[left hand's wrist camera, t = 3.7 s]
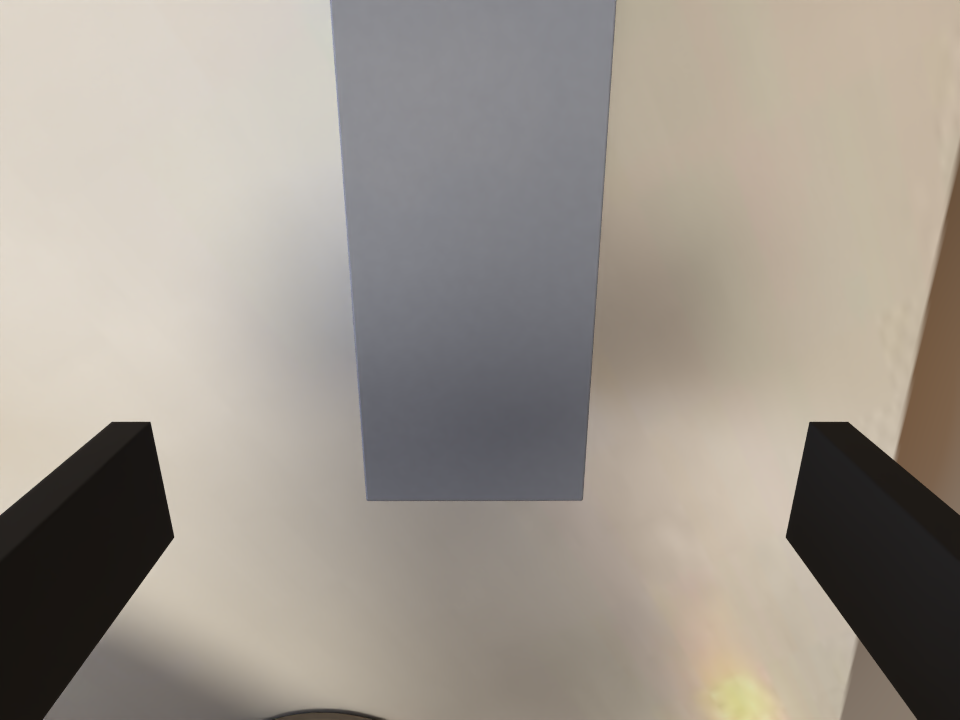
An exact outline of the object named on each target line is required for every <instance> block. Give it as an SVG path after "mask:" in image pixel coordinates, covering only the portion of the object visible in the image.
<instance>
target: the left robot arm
mask: <svg viewBox="0 0 960 720" xmlns="http://www.w3.org/2000/svg"><path fill="white" fill-rule="evenodd" d="M173 538H174V533H173V529H172V524H171V519H170V514H169V509H168V504H167V500H166V495H165V490H164V485H163V480H162V475H161V471H160V466H159V461H158V456H157V451H156V446H155V442H154V437H153V432H152V427H151V422H111V423H110V424H109V425H108V426H107V427H105V428H104V429H103V430H102V431H101V432H99V433H98V434H97V435H96V436H95V437H93V438H92V439H91V440H90V441H89V442H87V443H86V444H85V445H84V446H83V447H81V448H80V449H79V450H78V451H77V452H75V453H74V454H73V455H72V456H71V457H69V458H68V459H67V460H66V461H65V462H63V463H62V464H61V465H60V466H59V467H57V468H56V469H55V470H54V471H53V472H52V473H50V474H49V475H48V476H47V477H46V478H44V479H43V480H42V481H41V482H40V483H38V484H37V485H36V486H35V487H34V488H32V489H31V490H30V491H29V492H28V493H26V494H25V495H24V496H23V497H22V498H20V499H19V500H18V501H17V502H16V503H14V504H13V505H12V506H11V507H10V508H8V509H7V510H6V511H5V512H4V513H2V514H1V515H0V720H43V718H44V717H45V716H46V714H47V713H48V711H49V710H50V709H51V707H52V706H53V704H54V703H55V702H56V700H57V699H58V698H59V696H60V695H61V693H62V692H63V691H64V689H65V688H66V686H67V685H68V684H69V682H70V681H71V680H72V678H73V677H74V675H75V674H76V673H77V671H78V670H79V668H80V667H81V666H82V664H83V663H84V662H85V660H86V659H87V657H88V656H89V655H90V653H91V652H92V650H93V649H94V648H95V646H96V645H97V644H98V642H99V641H100V639H101V638H102V637H103V635H104V634H105V633H106V631H107V630H108V628H109V627H110V626H111V624H112V623H113V621H114V620H115V619H116V617H117V616H118V615H119V613H120V612H121V610H122V609H123V608H124V606H125V605H126V603H127V602H128V601H129V599H130V598H131V597H132V595H133V594H134V592H135V591H136V590H137V588H138V587H139V585H140V584H141V583H142V581H143V580H144V579H145V577H146V576H147V574H148V573H149V572H150V570H151V569H152V567H153V566H154V565H155V563H156V562H157V561H158V559H159V558H160V556H161V555H162V554H163V552H164V551H165V549H166V548H167V547H168V545H169V544H170V543H171V541H172V540H173ZM786 538H787V540H788V541H789V543H790V544H791V545H792V547H793V548H794V549H795V551H796V552H797V554H798V555H799V556H800V558H801V559H802V561H803V562H804V563H805V565H806V566H807V567H808V569H809V570H810V572H811V573H812V574H813V576H814V577H815V579H816V580H817V581H818V583H819V584H820V585H821V587H822V588H823V590H824V591H825V592H826V594H827V595H828V597H829V598H830V599H831V601H832V602H833V603H834V605H835V606H836V608H837V609H838V610H839V612H840V613H841V615H842V616H843V617H844V619H845V620H846V621H847V623H848V624H849V626H850V627H851V628H852V630H853V631H854V633H855V634H856V635H857V637H858V638H859V639H860V641H861V642H862V644H863V645H864V646H865V648H866V649H867V650H868V652H869V653H870V655H871V656H872V657H873V659H874V660H875V661H876V663H877V664H878V666H879V667H880V668H881V670H882V671H883V673H884V674H885V675H886V677H887V678H888V680H889V681H890V682H891V684H892V685H893V686H894V688H895V689H896V691H897V692H898V693H899V695H900V696H901V697H902V699H903V700H904V702H905V703H906V704H907V706H908V707H909V709H910V710H911V711H912V713H913V714H914V716H915V717H916V718H917V720H960V515H959V514H958V513H956V512H955V511H954V510H953V509H952V508H950V507H949V506H948V505H947V504H946V503H944V502H943V501H942V500H941V499H940V498H938V497H937V496H936V495H935V494H934V493H932V492H931V491H930V490H929V489H928V488H926V487H925V486H924V485H923V484H922V483H920V482H919V481H918V480H917V479H916V478H914V477H913V476H912V475H911V474H910V473H908V472H907V471H906V470H905V469H904V468H902V467H901V466H900V465H899V464H898V463H897V462H895V461H894V460H893V459H892V458H891V457H889V456H888V455H887V454H886V453H885V452H883V451H882V450H881V449H880V448H879V447H877V446H876V445H875V444H874V443H873V442H871V441H870V440H869V439H868V438H867V437H865V436H864V435H863V434H862V433H861V432H859V431H858V430H857V429H856V428H855V427H853V426H852V425H851V424H850V423H849V422H809V427H808V432H807V437H806V442H805V446H804V451H803V456H802V461H801V466H800V471H799V475H798V480H797V485H796V490H795V495H794V500H793V504H792V509H791V514H790V519H789V524H788V529H787V533H786ZM273 720H372V719H368V718H364V717H359V716H354V715H348V714H340V713H303V714H296V715H289V716H285V717H280V718H276V719H273Z"/></svg>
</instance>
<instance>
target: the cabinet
mask: <svg viewBox="0 0 960 720" xmlns="http://www.w3.org/2000/svg"><path fill="white" fill-rule="evenodd" d="M330 6H331V20H332V34H333V47H334V61H335V75H336V88H337V102H338V116H339V130H340V143H341V157H342V171H343V184H344V198H345V212H346V226H347V239H348V253H349V267H350V280H351V294H352V308H353V321H354V335H355V349H356V363H357V376H358V390H359V404H360V417H361V431H362V445H363V458H364V472H365V486H366V499H367V501H582V500H583V488H584V473H585V458H586V443H587V429H588V414H589V399H590V384H591V369H592V354H593V340H594V325H595V310H596V295H597V280H598V265H599V250H600V236H601V221H602V206H603V191H604V176H605V161H606V147H607V132H608V117H609V102H610V87H611V72H612V58H613V43H614V28H615V13H616V0H330Z"/></svg>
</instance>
